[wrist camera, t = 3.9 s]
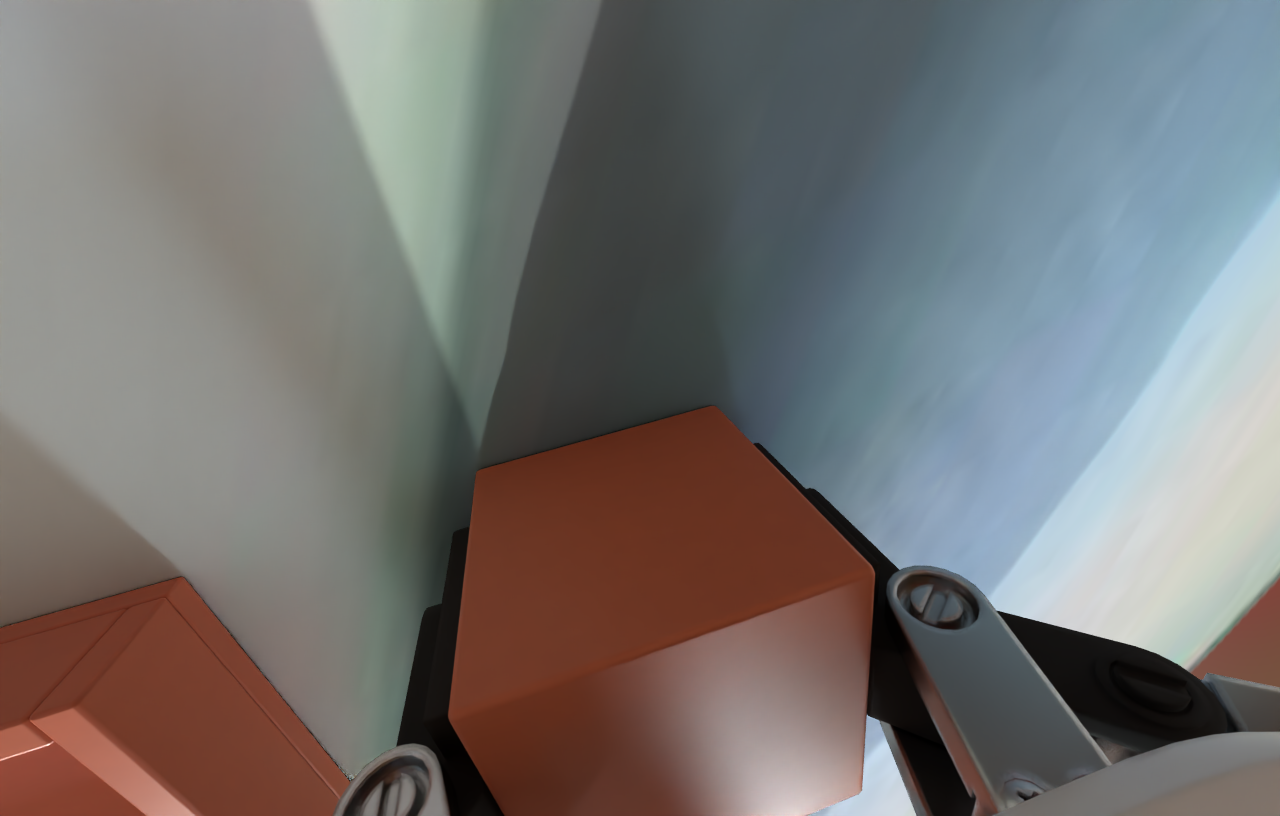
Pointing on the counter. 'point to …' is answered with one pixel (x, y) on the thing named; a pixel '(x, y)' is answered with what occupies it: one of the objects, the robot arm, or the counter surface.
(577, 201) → the counter surface
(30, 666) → the terracotta tray
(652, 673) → the terracotta block
